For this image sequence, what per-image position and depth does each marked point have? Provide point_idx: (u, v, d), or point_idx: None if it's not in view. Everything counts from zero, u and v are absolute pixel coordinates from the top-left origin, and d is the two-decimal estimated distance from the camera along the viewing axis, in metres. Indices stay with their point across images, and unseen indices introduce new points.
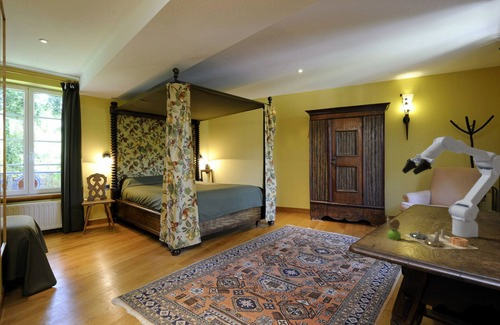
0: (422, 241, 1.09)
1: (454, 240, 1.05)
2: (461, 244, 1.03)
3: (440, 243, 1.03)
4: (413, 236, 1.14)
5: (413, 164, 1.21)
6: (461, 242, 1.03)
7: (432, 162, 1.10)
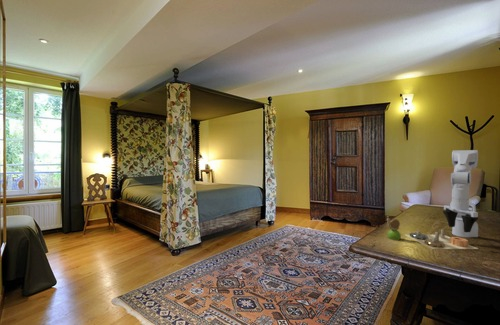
0: (422, 241, 1.09)
1: (454, 240, 1.05)
2: (461, 244, 1.03)
3: (440, 243, 1.03)
4: (413, 236, 1.14)
5: (453, 213, 1.09)
6: (461, 242, 1.03)
7: (475, 215, 0.98)
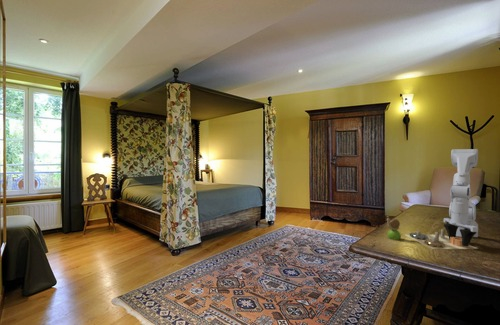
0: (422, 241, 1.09)
1: (454, 240, 1.05)
2: (461, 244, 1.03)
3: (440, 243, 1.03)
4: (413, 236, 1.14)
5: (453, 226, 1.09)
6: (461, 242, 1.03)
7: (475, 230, 0.98)
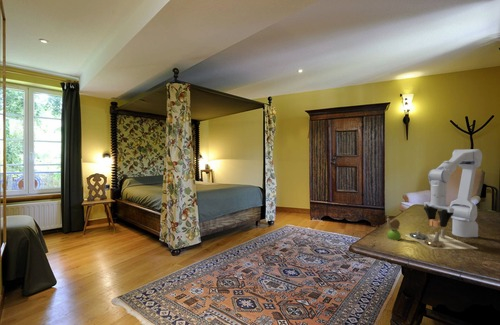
0: (422, 241, 1.09)
1: (433, 222, 1.09)
2: (439, 225, 1.07)
3: (440, 243, 1.03)
4: (413, 236, 1.14)
5: (433, 209, 1.13)
6: (439, 223, 1.07)
7: (451, 211, 1.02)
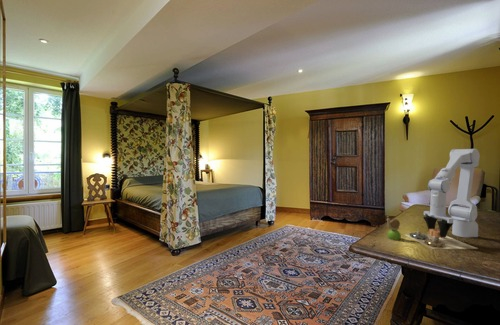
0: (422, 241, 1.09)
1: (432, 232, 1.09)
2: (439, 235, 1.07)
3: (440, 243, 1.03)
4: (413, 236, 1.14)
5: (432, 219, 1.13)
6: (439, 233, 1.07)
7: (451, 221, 1.02)
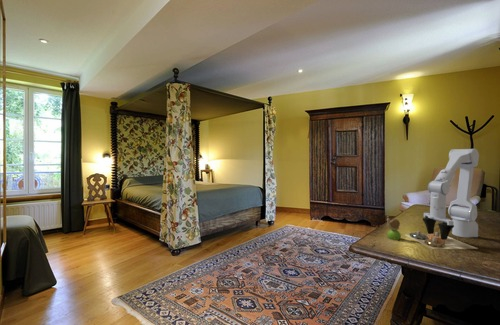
0: (422, 241, 1.09)
1: (432, 237, 1.09)
2: (438, 240, 1.07)
3: (440, 243, 1.03)
4: (413, 236, 1.14)
5: (431, 220, 1.13)
6: (438, 239, 1.07)
7: (451, 223, 1.02)
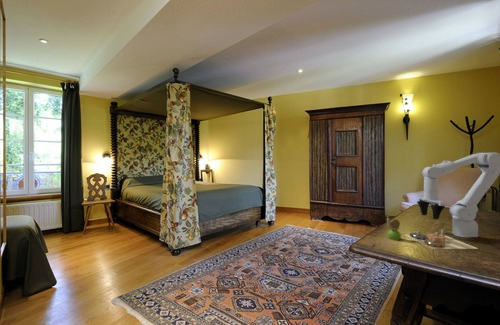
0: (422, 241, 1.09)
1: (432, 237, 1.09)
2: (438, 240, 1.07)
3: (440, 243, 1.03)
4: (413, 236, 1.14)
5: (425, 203, 1.25)
6: (438, 239, 1.07)
7: (442, 204, 1.14)
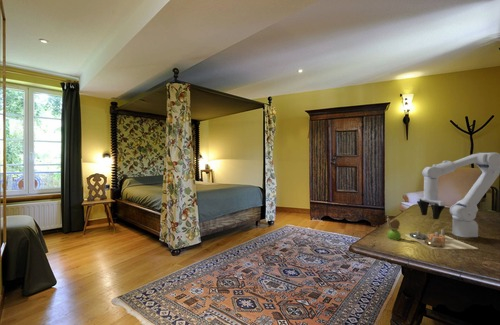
0: (422, 241, 1.09)
1: (432, 237, 1.09)
2: (438, 240, 1.07)
3: (440, 243, 1.03)
4: (413, 236, 1.14)
5: (425, 203, 1.25)
6: (438, 239, 1.07)
7: (442, 204, 1.14)
